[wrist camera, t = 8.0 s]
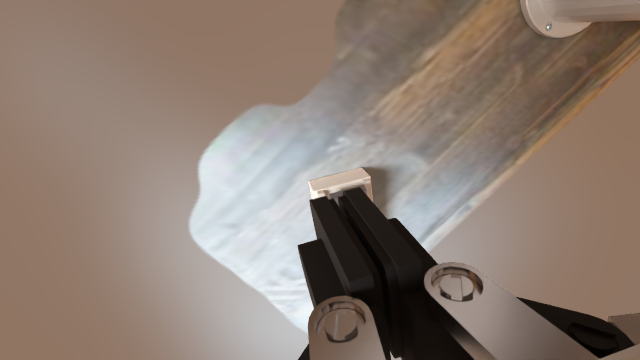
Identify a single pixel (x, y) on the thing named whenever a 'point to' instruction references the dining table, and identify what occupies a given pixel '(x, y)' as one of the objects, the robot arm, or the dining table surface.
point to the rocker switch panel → (340, 183)
